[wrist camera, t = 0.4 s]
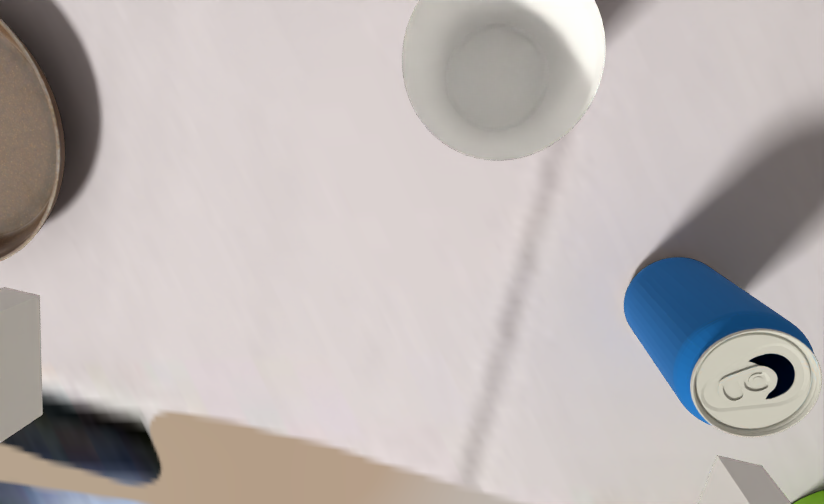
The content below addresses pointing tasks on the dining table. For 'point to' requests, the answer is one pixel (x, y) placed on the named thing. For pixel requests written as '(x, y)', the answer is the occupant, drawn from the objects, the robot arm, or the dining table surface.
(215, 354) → the dining table surface
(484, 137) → the cup
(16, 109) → the plant saucer
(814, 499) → the spray bottle
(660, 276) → the beverage can
